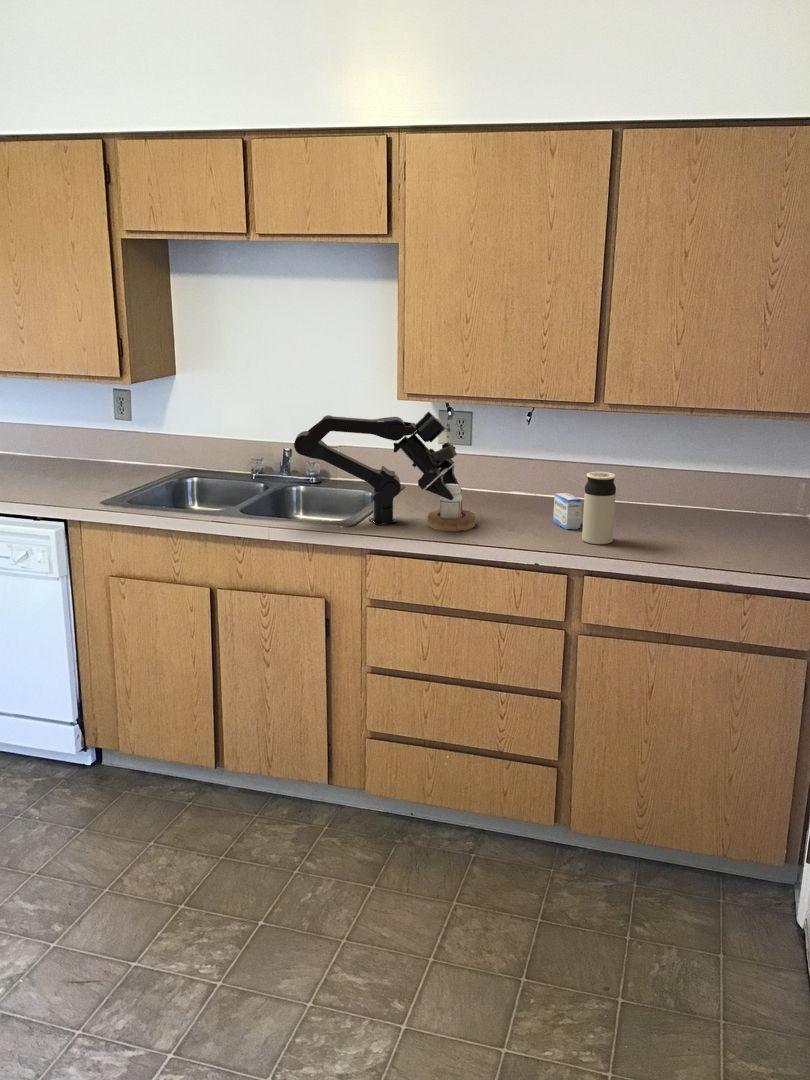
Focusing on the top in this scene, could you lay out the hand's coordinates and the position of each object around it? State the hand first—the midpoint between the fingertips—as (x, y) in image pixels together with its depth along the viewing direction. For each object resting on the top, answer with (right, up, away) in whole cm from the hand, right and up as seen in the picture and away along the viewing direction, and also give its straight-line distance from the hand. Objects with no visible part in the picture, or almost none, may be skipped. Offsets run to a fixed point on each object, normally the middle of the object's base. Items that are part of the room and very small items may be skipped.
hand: (456, 495), depth 278 cm
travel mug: (+37, -13, -12) cm, 41 cm away
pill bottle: (-2, -8, +3) cm, 9 cm away
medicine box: (+31, -9, +3) cm, 32 cm away
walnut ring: (-1, -8, +3) cm, 9 cm away
